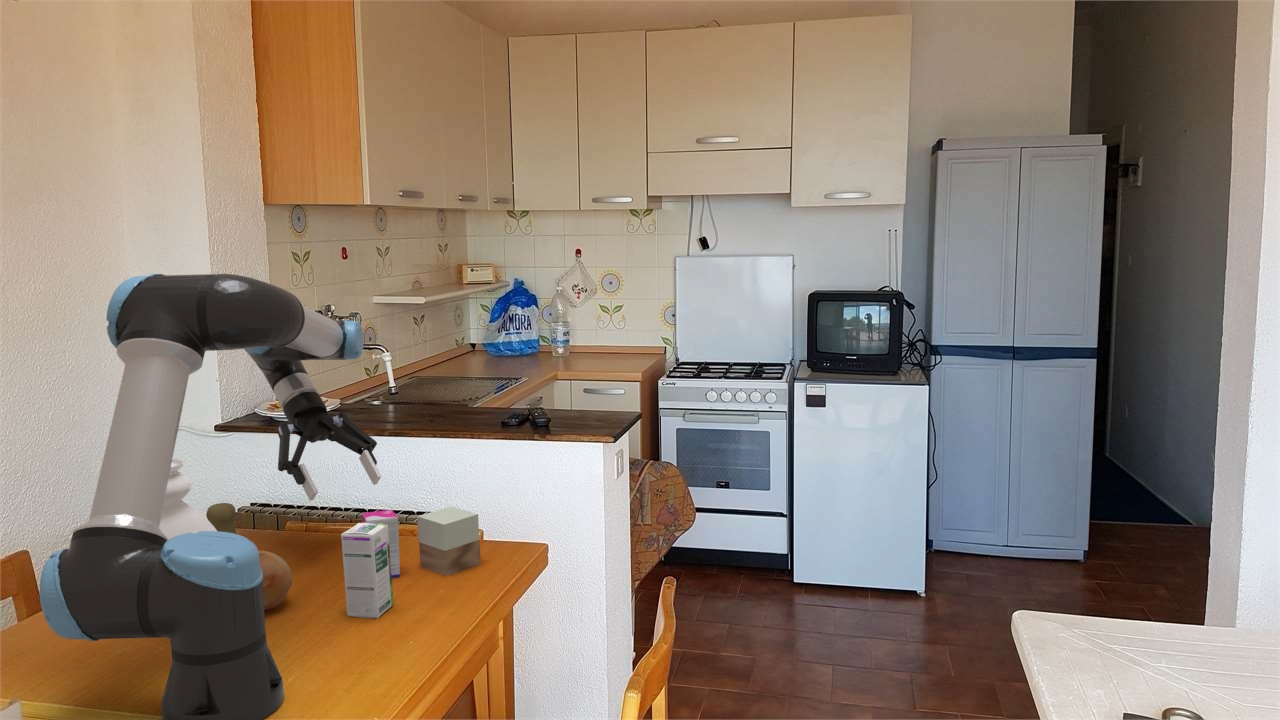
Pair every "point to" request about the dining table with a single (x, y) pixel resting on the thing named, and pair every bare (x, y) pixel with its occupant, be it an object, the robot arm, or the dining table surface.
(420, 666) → the dining table surface
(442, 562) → the tower base slab
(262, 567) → the onion
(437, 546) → the tower top slab
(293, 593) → the dining table surface
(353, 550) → the syrup box
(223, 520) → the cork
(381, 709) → the dining table surface
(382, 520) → the supplement box
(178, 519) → the decorative vase
